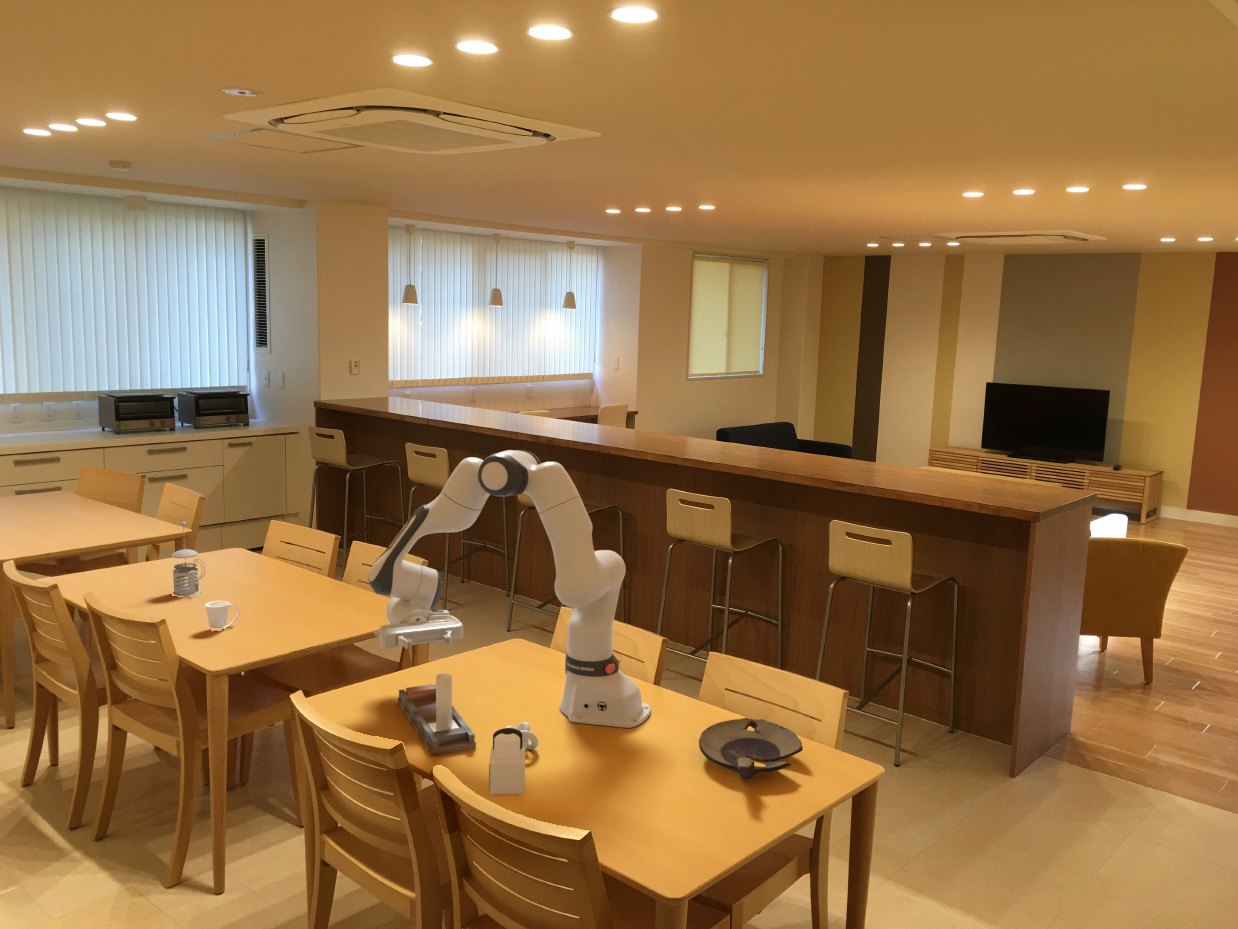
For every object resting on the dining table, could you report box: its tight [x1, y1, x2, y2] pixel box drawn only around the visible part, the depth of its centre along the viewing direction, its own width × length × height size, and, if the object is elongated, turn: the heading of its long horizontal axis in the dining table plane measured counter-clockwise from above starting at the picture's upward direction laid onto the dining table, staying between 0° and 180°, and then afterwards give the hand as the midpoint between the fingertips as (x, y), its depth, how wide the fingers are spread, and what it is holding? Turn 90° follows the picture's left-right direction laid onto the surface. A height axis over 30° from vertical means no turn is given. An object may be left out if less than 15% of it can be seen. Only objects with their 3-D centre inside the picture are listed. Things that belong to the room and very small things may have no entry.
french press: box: [171, 521, 206, 596], centre depth 326 cm, size 10×12×25 cm
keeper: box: [428, 673, 459, 732], centre depth 220 cm, size 6×6×13 cm
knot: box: [505, 721, 539, 751], centre depth 216 cm, size 8×8×6 cm
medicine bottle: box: [488, 727, 526, 796], centre depth 199 cm, size 7×7×12 cm
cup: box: [204, 600, 240, 631], centre depth 293 cm, size 7×10×8 cm
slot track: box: [397, 683, 477, 757], centre depth 228 cm, size 32×10×4 cm, turn 26°
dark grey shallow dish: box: [698, 717, 803, 781], centre depth 211 cm, size 22×30×8 cm
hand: (429, 643), depth 230 cm, fingers open, 8 cm apart
